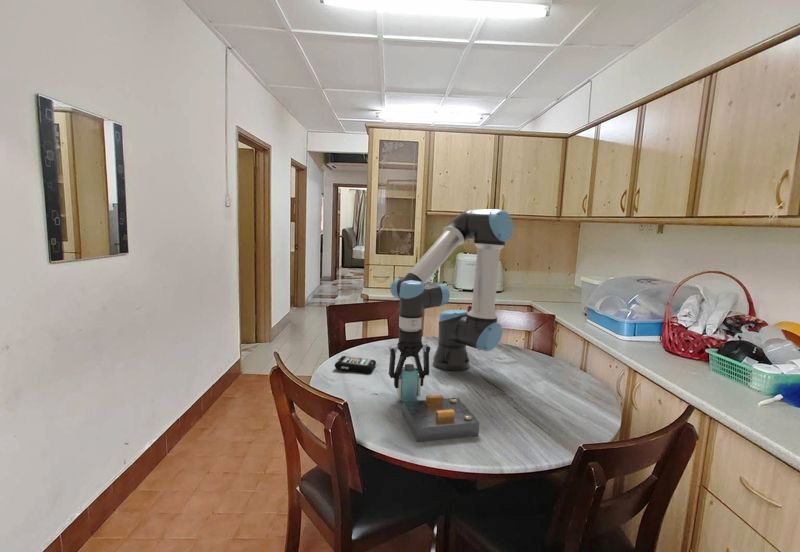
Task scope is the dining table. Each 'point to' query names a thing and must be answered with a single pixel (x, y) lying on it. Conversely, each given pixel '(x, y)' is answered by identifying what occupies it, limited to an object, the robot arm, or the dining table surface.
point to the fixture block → (439, 419)
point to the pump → (409, 383)
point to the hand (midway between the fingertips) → (408, 395)
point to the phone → (355, 364)
